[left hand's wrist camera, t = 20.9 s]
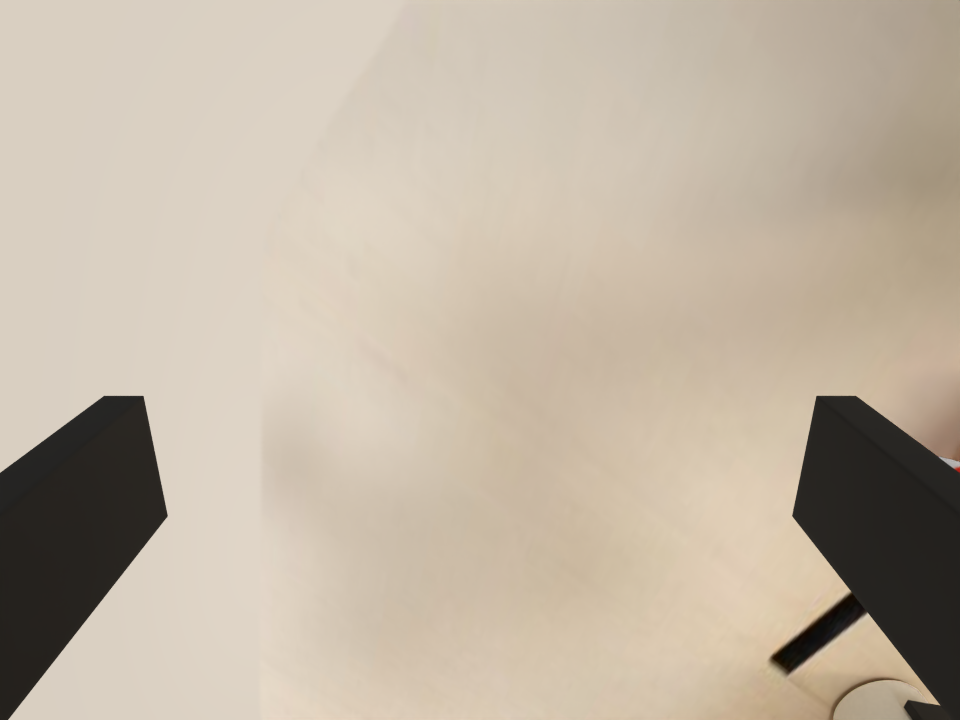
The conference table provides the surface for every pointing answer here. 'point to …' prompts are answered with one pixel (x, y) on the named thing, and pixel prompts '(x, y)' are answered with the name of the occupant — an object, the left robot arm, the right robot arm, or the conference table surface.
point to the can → (878, 701)
